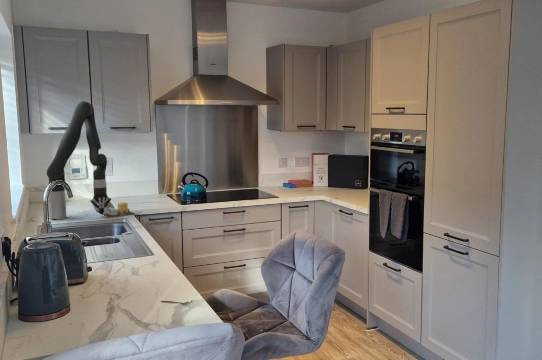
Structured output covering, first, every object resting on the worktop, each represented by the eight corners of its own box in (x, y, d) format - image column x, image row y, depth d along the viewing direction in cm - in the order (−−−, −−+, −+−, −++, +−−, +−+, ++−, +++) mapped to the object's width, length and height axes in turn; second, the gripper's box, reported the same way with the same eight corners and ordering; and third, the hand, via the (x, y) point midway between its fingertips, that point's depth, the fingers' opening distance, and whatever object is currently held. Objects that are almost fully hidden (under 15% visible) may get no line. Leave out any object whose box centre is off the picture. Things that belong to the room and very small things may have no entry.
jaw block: (120, 213, 316) (120, 204, 315) (118, 212, 319) (117, 202, 318) (127, 212, 318) (127, 203, 317) (125, 211, 322) (124, 202, 321)
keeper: (110, 215, 309) (110, 210, 308) (104, 212, 316) (104, 208, 316) (117, 214, 311) (117, 209, 311) (111, 211, 319) (111, 207, 319)
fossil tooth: (112, 214, 325) (90, 212, 325) (116, 211, 331) (93, 209, 331) (113, 197, 322) (90, 194, 323) (116, 195, 328) (94, 192, 329)
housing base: (108, 218, 308) (108, 213, 307) (102, 215, 316) (102, 210, 315) (133, 214, 318) (132, 209, 317) (126, 211, 326) (126, 207, 325)
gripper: (108, 184, 314) (109, 211, 317) (87, 186, 306) (88, 214, 309) (112, 186, 309) (114, 213, 311) (91, 188, 300) (92, 216, 303)
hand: (101, 214), depth 310 cm, fingers closed
